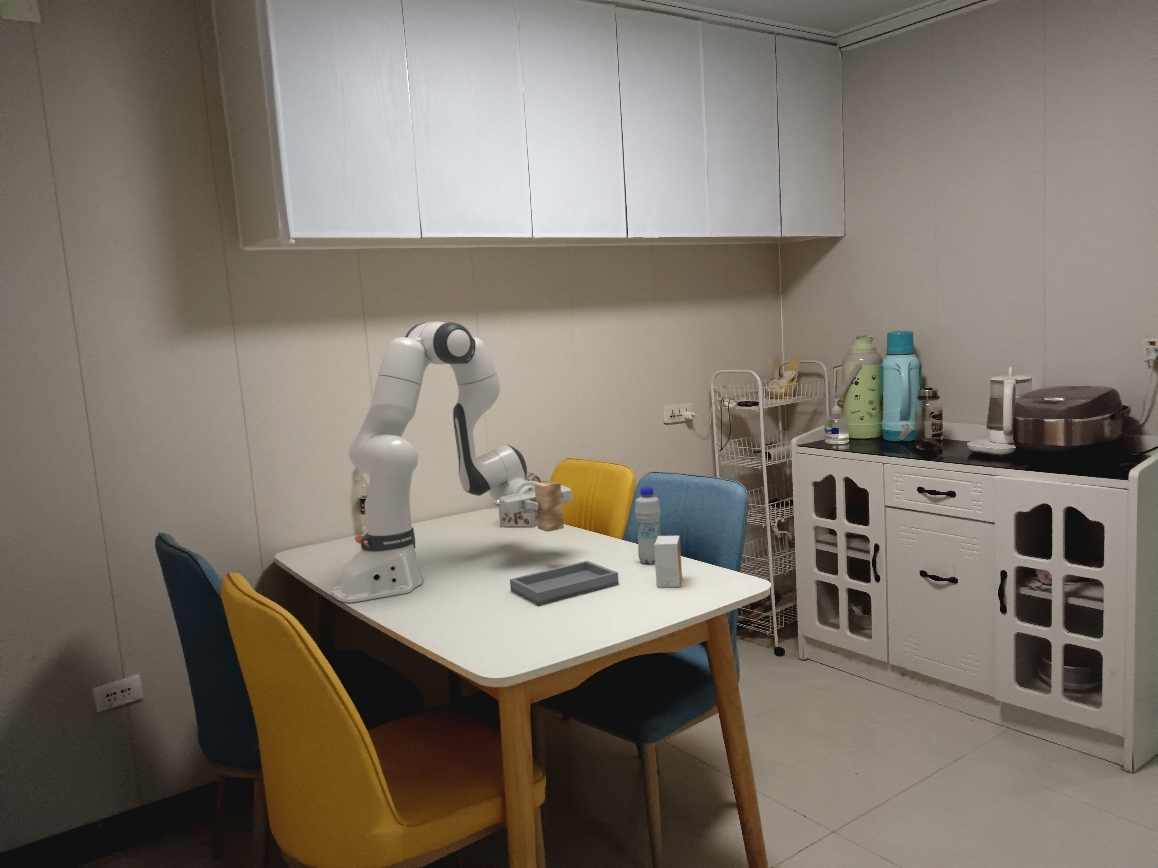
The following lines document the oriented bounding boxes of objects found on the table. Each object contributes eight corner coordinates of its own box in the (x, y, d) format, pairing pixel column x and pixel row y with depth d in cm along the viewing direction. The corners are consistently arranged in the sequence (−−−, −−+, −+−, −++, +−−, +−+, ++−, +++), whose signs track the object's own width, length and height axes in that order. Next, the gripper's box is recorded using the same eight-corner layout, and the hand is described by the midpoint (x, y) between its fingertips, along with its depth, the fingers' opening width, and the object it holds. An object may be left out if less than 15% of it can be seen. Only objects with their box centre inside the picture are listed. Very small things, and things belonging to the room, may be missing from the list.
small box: (680, 587, 190) (677, 543, 188) (656, 587, 191) (653, 544, 190) (682, 577, 198) (680, 535, 196) (659, 577, 199) (657, 535, 197)
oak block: (547, 531, 209) (543, 486, 208) (537, 528, 213) (534, 483, 212) (563, 528, 212) (560, 483, 210) (554, 525, 216) (551, 480, 214)
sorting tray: (538, 605, 184) (537, 593, 183) (510, 591, 196) (509, 579, 195) (618, 584, 195) (617, 572, 195) (587, 572, 207) (587, 560, 207)
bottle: (669, 560, 212) (664, 485, 209) (650, 566, 208) (646, 490, 205) (651, 556, 217) (646, 483, 214) (632, 562, 213) (628, 487, 210)
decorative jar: (512, 519, 273) (507, 466, 271) (545, 519, 270) (541, 465, 267) (499, 528, 261) (494, 473, 259) (533, 528, 258) (529, 472, 256)
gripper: (490, 491, 218) (513, 498, 206) (556, 479, 228) (581, 486, 216) (492, 514, 218) (515, 523, 207) (557, 501, 229) (583, 509, 217)
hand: (549, 504), depth 211 cm, fingers closed on oak block, 5 cm apart
